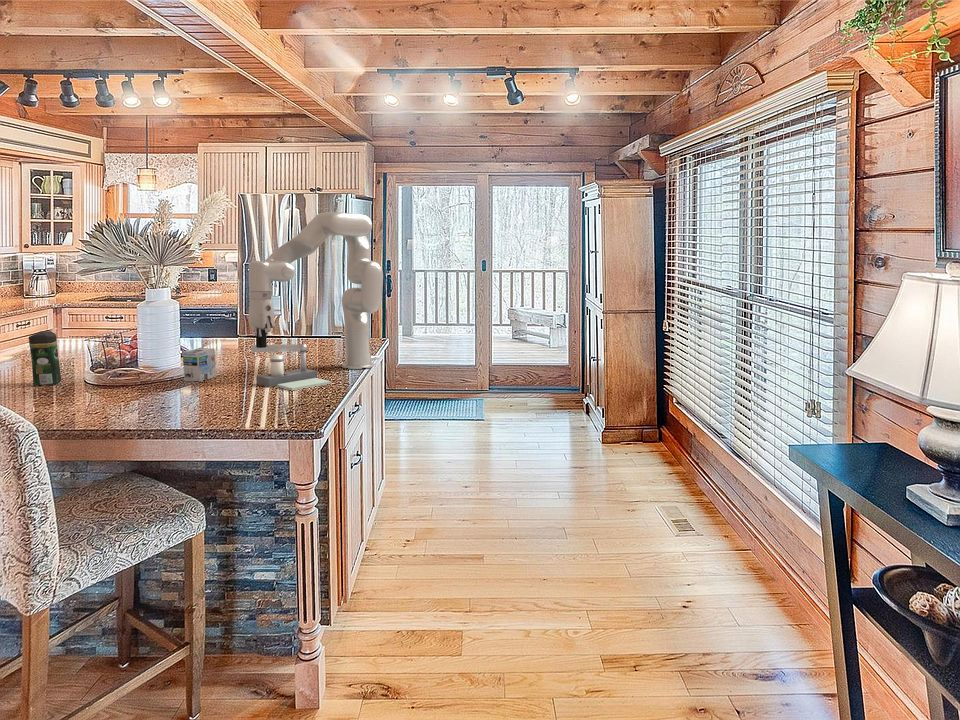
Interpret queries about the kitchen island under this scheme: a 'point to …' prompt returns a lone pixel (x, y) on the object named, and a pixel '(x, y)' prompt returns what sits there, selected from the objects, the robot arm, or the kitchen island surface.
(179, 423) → the kitchen island surface
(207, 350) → the light bulb box
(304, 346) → the silver metal bar
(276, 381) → the gray base with post
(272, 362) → the plug
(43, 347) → the coffee jar
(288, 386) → the mat
